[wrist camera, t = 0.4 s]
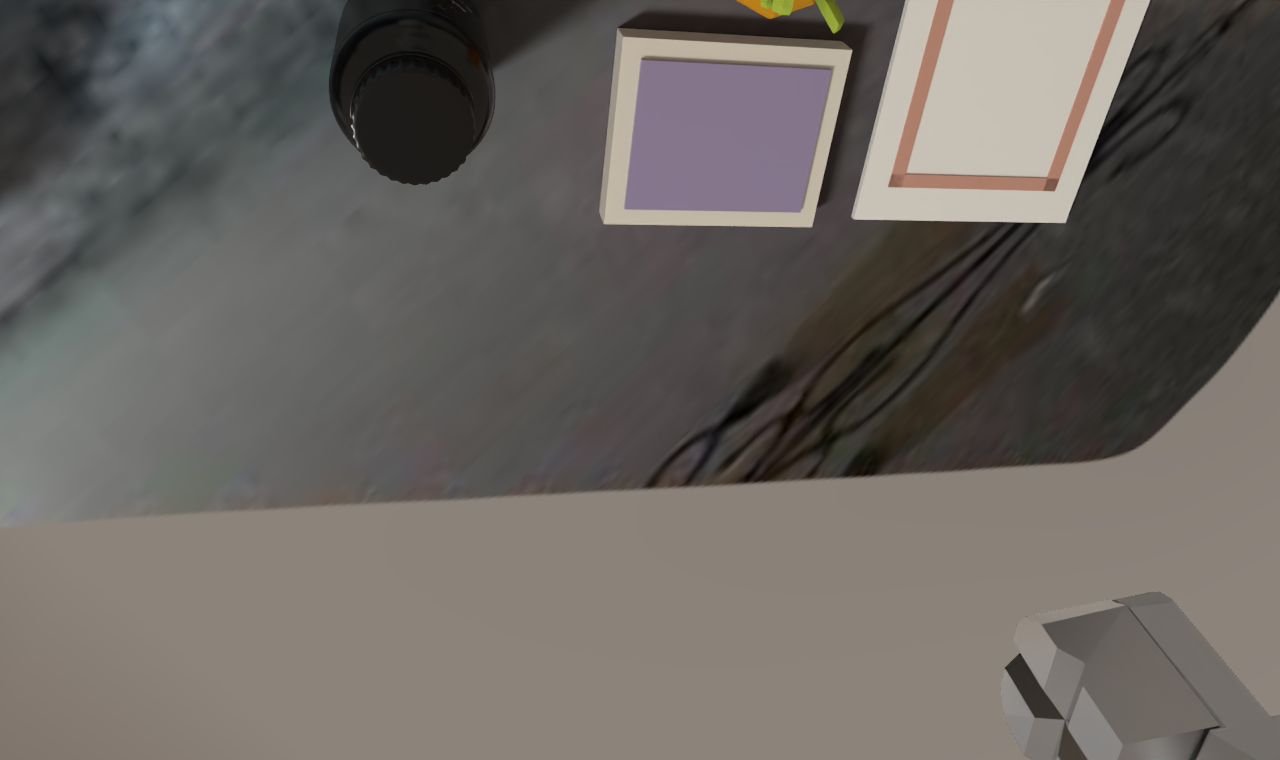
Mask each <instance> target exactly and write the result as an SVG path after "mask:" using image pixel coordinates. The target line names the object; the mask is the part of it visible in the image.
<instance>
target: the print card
mask: <svg viewBox="0 0 1280 760" xmlns="http://www.w3.org/2000/svg"><path fill="white" fill-rule="evenodd" d="M1149 2H1150V0H906V1H905V5H904V9H903V13H902V17H901V21H900V24H899V28H898V32H897V36H896V40H895V44H894V48H893V52H892V56H891V60H890V64H889V68H888V72H887V76H886V80H885V84H884V88H883V92H882V96H881V100H880V104H879V108H878V112H877V116H876V120H875V124H874V128H873V132H872V136H871V140H870V144H869V148H868V152H867V156H866V160H865V164H864V168H863V172H862V176H861V180H860V184H859V188H858V192H857V196H856V200H855V204H854V208H853V212H852V216H851V217H852V218H853V219H861V220H921V221H980V222H1040V223H1065V222H1066V220H1067V217H1068V215H1069V212H1070V209H1071V207H1072V204H1073V201H1074V199H1075V196H1076V194H1077V191H1078V188H1079V186H1080V183H1081V180H1082V178H1083V175H1084V173H1085V170H1086V167H1087V165H1088V162H1089V159H1090V157H1091V154H1092V152H1093V149H1094V146H1095V144H1096V141H1097V139H1098V136H1099V133H1100V131H1101V128H1102V125H1103V123H1104V120H1105V118H1106V115H1107V112H1108V110H1109V107H1110V104H1111V102H1112V99H1113V97H1114V94H1115V91H1116V89H1117V86H1118V83H1119V81H1120V78H1121V76H1122V73H1123V70H1124V68H1125V65H1126V62H1127V60H1128V57H1129V55H1130V52H1131V49H1132V47H1133V44H1134V41H1135V39H1136V36H1137V34H1138V31H1139V28H1140V26H1141V23H1142V20H1143V18H1144V15H1145V13H1146V10H1147V7H1148V5H1149Z"/></svg>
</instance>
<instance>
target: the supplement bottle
mask: <svg viewBox="0 0 1280 760" xmlns="http://www.w3.org/2000/svg"><path fill="white" fill-rule="evenodd" d="M329 95H330V102H331V107H332V110H333V113H334V116H335V119H336V121H337V123H338V125H339V127H340V129H341V130H342V132H343V133H344V135H345V136H346V138H347V139H348V140H349V141H350V142H351V144H352V145H353V146H354V147H355V148H356V149H357V150H358V151H359V152H361V154H362V158H363V159H364V160H365V161H367V162H368V163H369V165H370V167H371V168H373V169H376V170H377V171H378V172H379V174H380V175H383V176H387V177H388V178H389V179H390V180H394V181H399V182H400V183H402V184H406V183H410V184H412V185H418V184H426V185H427V184H429V183H430V182H438V181H439V180H440V179H441V178H445V177H448V176H449V175H450V174H451V172H454V171H457V170H458V168H459V166H460V165H461V164H463V163H464V162H465V160H466V156H467V155H469V154H470V153H471V152H472V151H473V150H474V149H475V148H476V147H477V146H478V145H479V143H480V142H481V141H482V139H483V138H484V136H485V134H486V132H487V131H488V129H489V126H490V124H491V121H492V118H493V114H494V109H495V83H494V77H493V72H492V67H491V62H490V57H489V52H488V47H487V42H486V37H485V33H484V29H483V25H482V22H481V19H480V16H479V14H478V12H477V10H476V8H475V6H474V4H473V3H472V1H471V0H348V1H347V3H346V5H345V7H344V9H343V12H342V16H341V19H340V23H339V28H338V33H337V38H336V43H335V49H334V54H333V59H332V64H331V69H330V77H329Z"/></svg>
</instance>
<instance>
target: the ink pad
mask: <svg viewBox="0 0 1280 760" xmlns="http://www.w3.org/2000/svg"><path fill="white" fill-rule="evenodd" d="M851 54H852V49H851V48H849V47H848V46H847V45H846V44H845V43H844V42H842V41H831V40H814V39H797V38H780V37H763V36H747V35H730V34H713V33H696V32H680V31H663V30H646V29H629V28H617V38H616V48H615V58H614V68H613V79H612V89H611V99H610V109H609V119H608V129H607V139H606V149H605V159H604V169H603V179H602V189H601V199H600V209H599V213H600V215H601V218H602V220H603V223H604V224H632V225H700V226H767V227H812V224H813V220H814V216H815V211H816V207H817V203H818V198H819V194H820V189H821V185H822V181H823V176H824V172H825V168H826V163H827V159H828V155H829V150H830V146H831V141H832V137H833V133H834V128H835V124H836V120H837V115H838V111H839V106H840V102H841V98H842V93H843V89H844V85H845V80H846V76H847V72H848V67H849V63H850V58H851Z"/></svg>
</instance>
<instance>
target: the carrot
mask: <svg viewBox="0 0 1280 760" xmlns="http://www.w3.org/2000/svg"><path fill="white" fill-rule="evenodd" d="M736 1H738V2H740V3H742V4H743V5H745V6H747V7H749V8H750V9H752V10H754V11H756V12H757V13H759V14H761V15H763V16H764V17H766V18H768V19H772V18H775V17H778V16H781V15H790V13H791V12H792V11H795V10H798V9H801V8H804V7H807V6H810V5H813V4H814V3H815V2H816V3H817V5H818V7H819V9H820V11H821V13H822V14H823V16H824V18H825V20H826V22H827V24H828V26H829V27H830V29H831V31H832V32H833V33H836V32H837V31H839V30H840V29H841V27H842V25H843V23H844V18H843V16H842V13H841V11H840V9H839V8H838V6H837V4H836V2H835V1H834V0H736Z"/></svg>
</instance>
